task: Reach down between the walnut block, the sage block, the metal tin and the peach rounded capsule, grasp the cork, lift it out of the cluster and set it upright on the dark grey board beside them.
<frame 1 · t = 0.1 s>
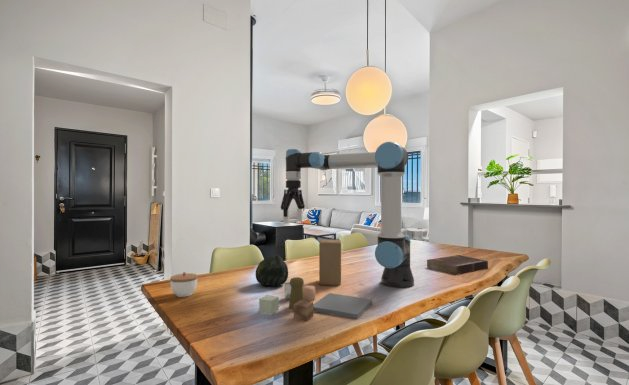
hand: (293, 222, 165), 28 cm above the table, tool pointing down, fingers open, 13 cm apart
lidded jar: (184, 295, 138), on the table
sage block: (269, 311, 118), on the table
wooden block: (330, 283, 156), on the table
squash: (272, 285, 153), on the table
walnut block: (303, 318, 112), on the table
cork: (296, 307, 122), on the table
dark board: (342, 306, 123), on the table
peach rounded capsule: (308, 299, 131), on the table
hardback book: (457, 269, 188), on the table
metal tin: (291, 298, 132), on the table
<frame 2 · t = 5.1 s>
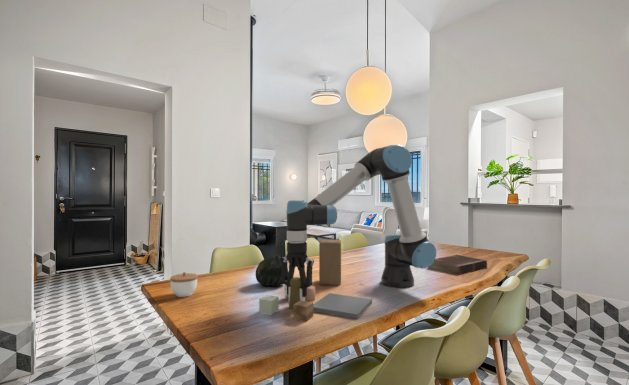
hand: (296, 304, 122), 1 cm above the table, tool pointing down, fingers closed on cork, 4 cm apart
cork: (296, 307, 122), on the table, touching gripper
everything else where it was.
when the fingers open (4 cm above the table, at t = 10.6 s): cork stays where it is, resting on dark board.
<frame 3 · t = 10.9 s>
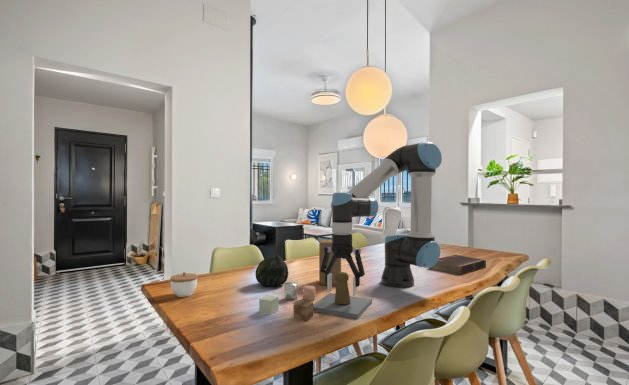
hand: (342, 293, 123), 5 cm above the table, tool pointing down, fingers open, 9 cm apart
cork: (342, 302, 123), point 2 cm above the table, touching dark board
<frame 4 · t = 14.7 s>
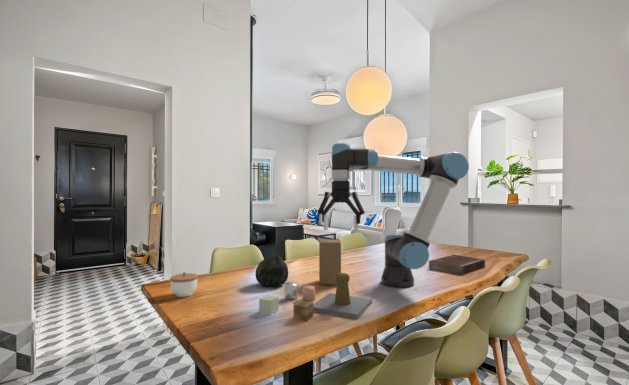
hand: (340, 230, 138), 27 cm above the table, tool pointing down, fingers open, 13 cm apart
at the end: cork inside the target area on the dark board (0.2 cm from its centre), point 1.3 cm above the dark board's base; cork tilted 0°; the gripper is holding nothing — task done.
